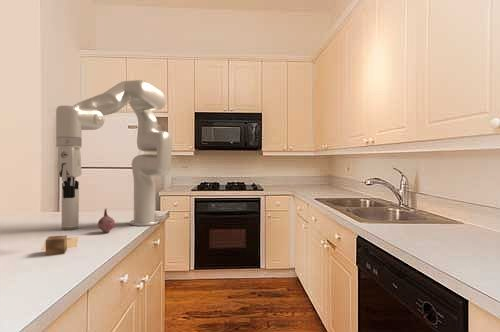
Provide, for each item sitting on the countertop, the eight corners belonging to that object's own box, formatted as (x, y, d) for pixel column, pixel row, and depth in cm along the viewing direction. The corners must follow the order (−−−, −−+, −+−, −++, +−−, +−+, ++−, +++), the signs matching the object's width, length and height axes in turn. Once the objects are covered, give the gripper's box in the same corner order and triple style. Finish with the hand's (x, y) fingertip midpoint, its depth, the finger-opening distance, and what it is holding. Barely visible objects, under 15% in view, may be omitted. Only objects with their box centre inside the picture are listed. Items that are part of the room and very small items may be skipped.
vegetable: (95, 233, 133) (95, 208, 133) (110, 231, 137) (110, 206, 137) (101, 235, 129) (101, 209, 129) (117, 233, 133) (117, 208, 133)
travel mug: (82, 227, 144) (82, 180, 143) (72, 230, 137) (72, 181, 137) (68, 226, 144) (68, 180, 144) (58, 229, 138) (58, 181, 137)
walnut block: (66, 250, 108) (66, 235, 107) (64, 255, 103) (64, 238, 103) (48, 252, 106) (48, 236, 106) (45, 256, 101) (45, 240, 101)
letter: (77, 237, 125) (77, 237, 125) (77, 247, 111) (77, 246, 111) (46, 240, 120) (46, 239, 120) (41, 250, 107) (41, 249, 107)
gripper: (74, 142, 106) (74, 200, 107) (86, 144, 121) (87, 195, 121) (48, 142, 105) (48, 200, 105) (64, 143, 119) (64, 195, 120)
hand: (69, 197), depth 113 cm, fingers closed
